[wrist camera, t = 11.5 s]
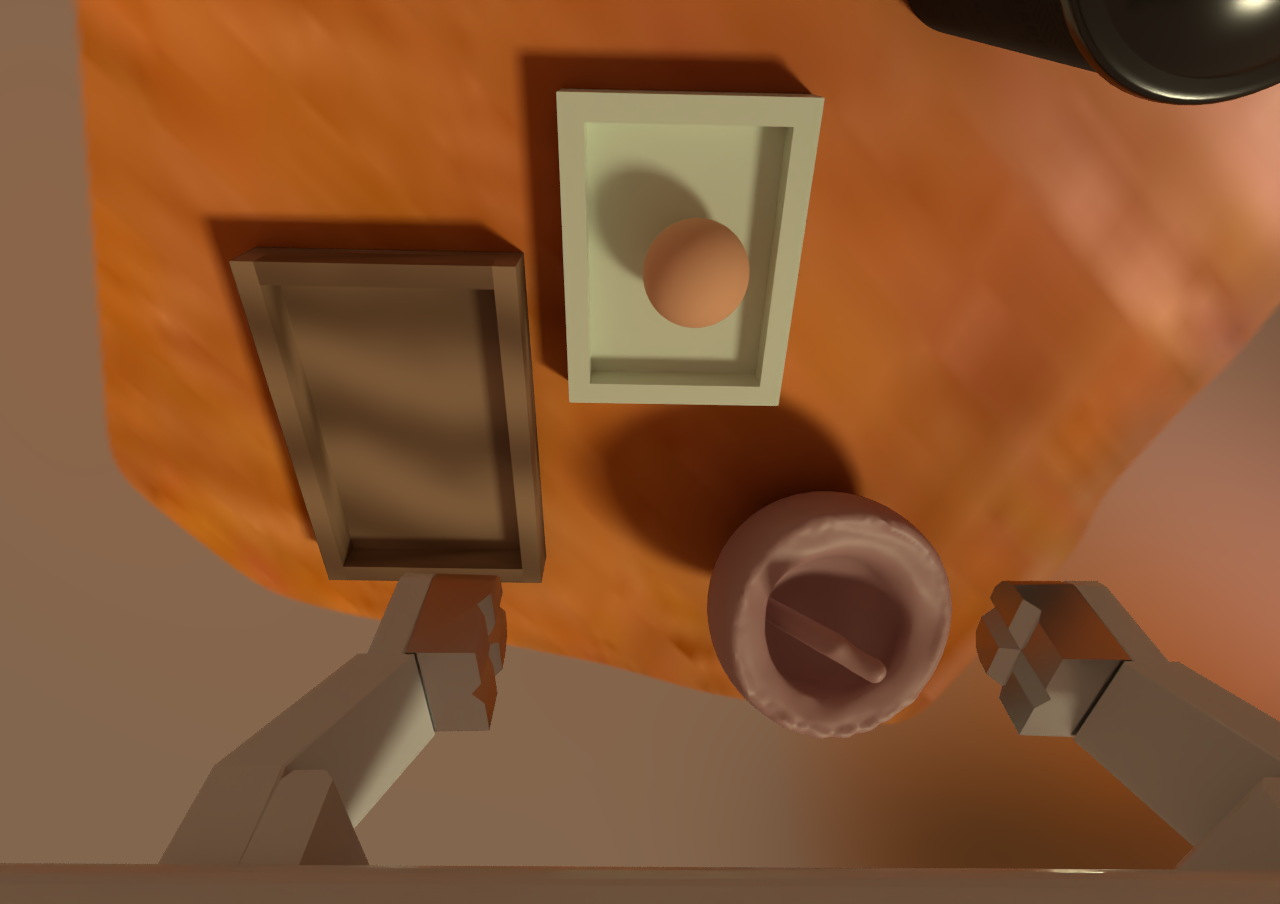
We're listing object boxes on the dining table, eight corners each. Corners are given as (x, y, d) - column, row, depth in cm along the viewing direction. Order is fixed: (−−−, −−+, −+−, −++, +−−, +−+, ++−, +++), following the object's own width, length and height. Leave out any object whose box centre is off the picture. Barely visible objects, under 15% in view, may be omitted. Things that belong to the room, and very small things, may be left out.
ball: (630, 310, 29) (657, 348, 26) (632, 209, 27) (662, 235, 24) (721, 304, 30) (760, 339, 27) (730, 205, 28) (774, 229, 25)
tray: (561, 88, 26) (556, 91, 24) (812, 94, 26) (824, 97, 24) (573, 383, 33) (569, 402, 31) (771, 387, 33) (778, 405, 31)
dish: (255, 247, 29) (228, 261, 27) (523, 252, 29) (515, 266, 27) (344, 554, 39) (329, 579, 37) (546, 556, 39) (541, 582, 37)
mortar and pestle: (949, 490, 36) (1062, 653, 27) (834, 628, 42) (892, 803, 32) (760, 416, 34) (809, 566, 24) (665, 574, 40) (673, 746, 30)
